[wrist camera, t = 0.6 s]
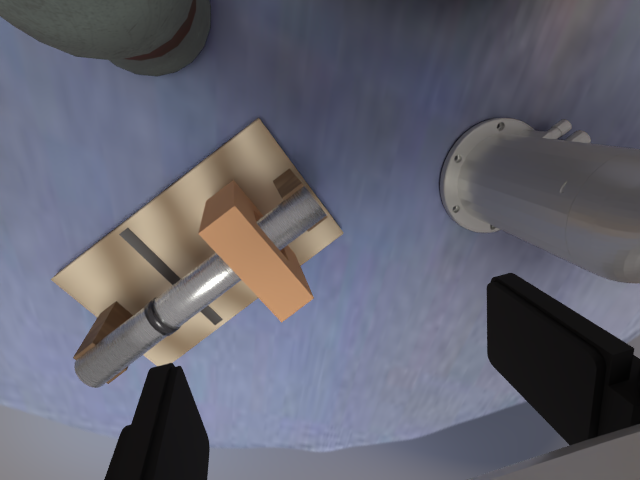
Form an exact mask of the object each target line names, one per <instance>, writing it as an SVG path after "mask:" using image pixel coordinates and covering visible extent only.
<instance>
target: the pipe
mask: <svg viewBox="0 0 640 480" xmlns="http://www.w3.org/2000/svg"><path fill="white" fill-rule="evenodd" d="M325 216H327V215H326V214H325V212H324V211H323V209H322V208H321V207H320V205H319V204H318V203H317V201H316V200H315V199H314V197H313V196H312V195H311V193H310V192H309V191H308V190H307V188H306V187H305V186H303V187H302V188H301V189H299V190H298V191H297V192H296V193H294V194H293V195H292V196H290V197H289V198H288V199H286V200H285V201H283V202H281V203H280V204H279V205H277V206H276V207H275V208H273V209H272V210H271V211H270V212H268V213H267V214H266V215H264V216H263V217H262V218H260V219H259V220H258V221H256V223H257V224H258V226H259V227H260V228H261V229H262V230H263V231H264V233H265V234H266V235H267V236H268V237H269V239H270V240H271V241H272V242H273V243H274V244H275V246H276V247H277V248H278V249H279V250H282V249H283V248H284V247H286V246H287V245H288V244H290V243H291V242H292V241H294V240H295V239H296V238H298V237H299V236H300V235H301V234H303V233H304V232H305V231H307V230H308V229H309V228H311V227H312V226H313V225H315V224H316V223H317V222H319V221H320V220H321V219H323V218H324V217H325ZM240 281H241V279H240V278H239V276H238V275H237V274H236V273H235V272H234V271H233V270H232V269H231V268H230V267H229V266H228V265H227V264H226V263H225V262H224V261H223V259H222V258H221V257H220V256H219V255H218V254H217V253H215V254H213V255H212V256H211V257H209V258H208V259H207V260H205V261H204V262H203V263H201V264H200V265H199V266H198V267H196V268H195V269H194V270H192V271H191V272H190V273H188V274H187V275H186V276H184V277H183V278H182V279H180V280H179V281H178V282H177V283H175V284H174V285H173V286H171V287H170V288H169V289H167V290H166V291H165V292H163V293H162V294H161V295H160V296H158V297H156V298H154V299H152V300H151V301H150V302H148V303H147V304H146V305H145V306H144V308H143V309H141V310H140V311H139V312H137V313H136V314H135V315H133V316H132V317H131V318H129V319H128V320H127V321H125V322H124V323H123V324H122V325H120V326H119V327H118V328H116V329H115V330H114V331H112V332H111V333H110V334H108V335H107V336H106V337H105V338H103V339H102V340H101V341H99V342H98V343H97V344H96V345H95V346H94V347H93V348H91V349H90V350H89V351H87V352H86V353H85V354H83V355H82V356H81V357H79V358H78V359H77V360H76V361H75V371H76V374H77V376H78V377H79V379H80V380H81V381H82V382H83V383H85V384H86V385H88V386H90V387H95V388H97V387H101V386H103V385H104V384H105V383H106V382H108V381H109V380H110V379H112V378H113V377H114V376H116V375H117V374H118V373H120V372H121V371H122V370H124V369H125V368H126V367H128V366H129V365H130V364H131V363H133V362H134V361H135V360H137V359H138V358H139V357H141V356H142V355H143V354H145V353H146V352H147V351H149V350H150V349H151V348H153V347H154V346H155V345H157V344H158V343H159V342H160V341H162V340H163V339H164V338H166V337H167V336H170V335H172V334H173V333H174V332H176V331H177V330H178V329H180V327H181V326H182V325H183V324H184V323H186V322H187V321H188V320H189V319H191V318H192V317H193V316H195V315H196V314H197V313H199V312H200V311H201V310H203V309H204V308H205V307H207V306H208V305H209V304H211V303H212V302H213V301H215V300H216V299H217V298H218V297H220V296H221V295H222V294H224V293H225V292H226V291H228V290H229V289H230V288H232V287H233V286H234V285H236V284H237V283H238V282H240Z"/></svg>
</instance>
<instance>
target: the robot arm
mask: <svg viewBox="0 0 640 480" xmlns="http://www.w3.org/2000/svg"><path fill="white" fill-rule="evenodd" d="M571 128H572V125H571V124H570V122H569V121H568V120H565V119H562V120H561V121H559V122H558V123H557V124H555V125H554V126H553V127H552V128H551V129H550V130H548V131H547V132H545V131H535V130H534V129H533V128H532V127H531V126H529V125H528V124H526V123H524V122H523V121H519V120H516V119H511V118H493V119H490V120H486V121H483V122H481V123H479V124H477V125H475V126H473V127H472V128H470V129H469V130H468V131H467V132H465V133H464V134H463V135H462V136H461V137H460V138H459V139H458V140H457V141H456V143H455V144H454V146H453V147H452V149H451V150H450V151H449V153H448V156H447V158H446V160H445V162H444V165H443V169H442V172H441V179H440V194H441V199H442V203H443V206H444V208H445V210H446V212H447V213H448V215H449V216H450V217H451V218H452V220H453V221H455V222H456V223H457V224H459V225H460V226H462V227H464V228H466V229H468V230H471V231H474V232H479V233H491V232H496V231H499V230H503V231H505V232H507V233H509V234H511V235H513V236H515V237H517V238H520V239H522V240H524V241H526V242H528V243H530V244H532V245H534V246H536V247H539V248H541V249H543V250H545V251H547V252H549V253H551V254H553V255H555V256H558V257H560V258H562V259H564V260H566V261H568V262H570V263H572V264H574V265H577V266H579V267H581V268H583V269H585V270H587V271H589V272H592V273H594V274H596V275H598V276H601V277H603V278H606V279H609V280H613V281H617V282H623V283H640V149H634V148H625V147H616V146H608V145H599V144H591V143H590V142H591V139H590V137H589V135H588V134H587V133H585V132H584V131H581V130H578V131H576V132H574V133H573V134H572V135H570V136H569V137H568V138H566V139H565V140H556V139H558V138H559V137H562V136H563V135H564V134H566V133H567V132H568V131H570V130H571ZM454 158H455V159H454ZM633 352H634V348H633V347H631V346H629V345H628V344H626V343H625V342H623V341H622V340H620V339H618V338H617V337H615V336H613V335H612V334H610V333H609V332H607V331H605V330H604V329H602V328H601V327H599V326H597V325H596V324H594V323H593V322H591V321H589V320H588V319H586V318H584V317H583V316H581V315H580V314H578V313H576V312H575V311H573V310H572V309H570V308H568V307H567V306H565V305H563V304H562V303H560V302H559V301H557V300H555V299H554V298H552V297H551V296H549V295H547V294H546V293H544V292H543V291H541V290H539V289H538V288H536V287H534V286H533V285H531V284H530V283H528V282H526V281H525V280H523V279H522V278H520V277H518V276H517V275H515V274H513V273H508V274H504V275H500V276H497V277H493V278H492V280H491V283H489V284H488V285H487V353H488V358H489V360H490V362H491V364H492V365H493V367H494V368H495V369H496V370H497V371H498V372H499V373H500V374H501V375H502V376H503V377H504V378H505V379H506V380H507V381H508V382H509V383H510V384H511V385H512V386H513V387H514V388H515V389H516V390H517V391H518V392H519V393H520V394H521V395H522V396H523V397H524V398H525V400H526V401H527V402H528V403H529V404H530V405H531V406H532V407H533V408H534V409H535V410H536V411H537V412H538V413H539V414H540V415H541V416H542V417H543V418H544V419H545V420H546V421H547V422H548V423H549V424H550V425H551V426H552V427H553V428H554V429H555V430H556V431H557V433H558V434H560V436H561V437H563V439H564V440H565V441H566V442H567V443H568V444H569V445H570V446H567V447H564V448H561V449H558V450H555V451H552V452H549V453H546V454H543V455H540V456H537V457H534V458H531V459H528V460H524V461H521V462H518V463H515V464H512V465H509V466H506V467H503V468H500V469H497V470H494V471H491V472H488V473H485V474H482V475H479V476H476V477H473V478H470V479H467V480H640V359H639V358H638V357H636V356H634V355H633ZM208 462H209V440H208V436H207V433H206V430H205V428H204V425H203V422H202V420H201V417H200V414H199V412H198V409H197V406H196V404H195V401H194V398H193V396H192V393H191V390H190V388H189V385H188V383H187V380H186V377H185V375H184V372H183V369H182V368H181V366H178V367H175V366H174V365H173V363H168V364H164V365H161V366H157V367H153V368H151V369H150V370H149V372H148V375H147V378H146V381H145V384H144V387H143V390H142V393H141V396H140V399H139V402H138V405H137V408H136V411H135V415H134V418H133V421H132V424H131V425H128V426H126V427H124V428H123V430H122V432H121V434H120V436H119V439H118V442H117V445H116V448H115V451H114V454H113V457H112V459H111V462H110V465H109V468H108V471H107V474H106V477H105V479H104V480H207V474H208Z"/></svg>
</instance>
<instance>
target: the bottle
mask: <svg viewBox="0 0 640 480" xmlns="http://www.w3.org/2000/svg"><path fill="white" fill-rule="evenodd" d="M0 16H1V17H2V18H4V19H5V20H6V21H8V22H9V23H10V24H12V25H13V26H15V27H16V28H18V29H20V30H21V31H23V32H25V33H26V34H28V35H30V36H31V37H33V38H34V39H36V40H38V41H39V42H42V43H44V44H47V45H49V46H51V47H54V48H56V49H59V50H61V51H64V52H66V53H69V54H71V55H74V56H77V57H86V58H96V59H105V60H109V61H110V62H112V63H113V64H114V65H116V66H118V67H120V68H123V69H125V70H127V71H130V72H132V73H135V74H139V75H149V76H161V75H165V74H170V73H174V72H177V71H179V70H180V69H182V68H183V67H185V66H187V65H188V64H190V63H191V62H193V60H194V59H195V58H196V57H197V55H198V54H199V53H200V51H201V50H202V49H203V47H204V45H205V42H206V39H207V36H208V33H209V30H210V21H211V5H210V2H209V0H0Z"/></svg>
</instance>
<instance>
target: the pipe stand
mask: <svg viewBox="0 0 640 480" xmlns="http://www.w3.org/2000/svg"><path fill="white" fill-rule="evenodd" d="M233 180H234V181H235V182H236V183H237V185H238V186H239V187H240V188H241V189H242V191H243V192H244V193H245V194H246V195H247V197H248V198H249V199H250V200H251V201H252V203H253V204H254V205H255V206H256V207H257V209H258V210H259V211H260V212H261V214H262V215H263V216H264V215H266V214H267V213H268V212H270V211H271V210H272V209H273V208H275V207H276V206H277V205H279V204H280V203H281V202H283V201H285V200H286V199H288V198H289V197H290V196H292V195H293V194H294V193H296V192H297V191H298V190H299V189H301V188H302V187H303V186H305V187H306V188H307V190H308V191H309V192H310V193H311V195H312V196H313V197H314V199H315V200H316V201H317V203H318V204H319V205H320V207H321V208H322V209H323V211H324V212H325V214H326V215H327V216H325V217H324V218H323V219H321V220H320V221H319V222H317V223H316V224H315V225H313V226H312V227H311V228H309V229H308V230H307V231H305V232H304V233H303V234H301V235H300V236H299V237H298V238H296V239H295V240H294V241H292V242H291V243H290V244H288V246H289V247H290V248H291V250H292V251H293V252H294V253H295V255H296V257H297V260H298V262H299V264H300V266H301V265H302V264H304V263H305V262H306V261H308V260H309V259H310V258H312V257H313V256H314V255H316V254H317V253H318V252H320V251H321V250H322V249H324V248H325V247H326V246H327V245H329V244H330V243H331V242H333V241H334V240H335V239H337V238H338V237H339V236H341V235H342V234H343V231H342V230H341V229H340V227H339V226H338V225H337V223H336V222H335V221H334V219H333V218H332V217H331V215H330V214H329V212H328V211H327V210H326V208H325V207H324V206H323V204H322V203H321V202H320V200H319V199H318V198H317V196H316V195H315V194H314V192H313V191H312V189H311V188H310V187H309V185H308V184H307V183H306V181H305V180H304V179H303V177H302V176H301V175H300V173H299V172H298V170H297V169H296V168H295V166H294V165H293V164H292V162H291V161H290V160H289V158H288V157H287V156H286V154H285V153H284V151H283V150H282V149H281V147H280V146H279V145H278V143H277V142H276V141H275V139H274V138H273V137H272V135H271V134H270V132H269V131H268V130H267V128H266V127H265V126H264V124H263V123H262V122H261V120H260V119H259V118H257V119H256V120H255V121H253V122H252V123H251V124H249V125H248V126H247V127H246V128H244V129H243V130H242V131H240V132H239V133H238V134H236V135H235V136H234V137H233V138H231V139H230V140H229V141H227V142H226V143H225V144H224V145H222V146H221V147H220V148H218V149H217V150H216V151H215V152H213V153H212V154H211V155H209V156H208V157H207V158H205V159H204V160H203V161H202V162H200V163H199V164H198V165H196V166H195V167H194V168H193V169H191V170H190V171H189V172H187V173H186V174H185V175H184V176H182V177H181V178H180V179H178V180H177V181H176V182H174V183H173V184H172V185H171V186H169V187H168V188H167V189H165V190H164V191H163V192H162V193H160V194H159V195H158V196H156V197H155V198H154V199H153V200H151V201H150V202H149V203H147V204H146V205H145V206H143V207H142V208H141V209H140V210H138V211H137V212H136V213H134V214H133V215H132V216H131V217H129V218H128V219H127V220H125V221H124V222H123V223H122V224H120V225H119V226H118V227H116V228H115V229H114V230H112V231H111V232H110V233H109V234H107V235H106V236H105V237H103V238H102V239H101V240H100V241H98V242H97V243H96V244H94V245H93V246H92V247H91V248H89V249H88V250H87V251H85V252H84V253H83V254H81V255H80V256H79V257H78V258H76V259H75V260H74V261H72V262H71V263H70V264H69V265H67V266H66V267H65V268H63V269H62V270H61V271H60V272H58V273H57V274H56V275H55V276H54V277H53V278H52V279H51V280H52V281H53V282H54V283H56V284H57V285H58V286H59V287H61V288H62V289H63V290H64V291H66V292H67V293H68V294H69V295H70V296H72V297H73V298H74V299H75V300H77V301H78V302H79V303H80V304H81V305H83V306H84V307H85V308H86V309H88V310H89V311H90V312H91V313H93V314H94V315H95V316H96V317H97V319H96V321H95V323H94V324H93V326H92V328H91V329H90V331H89V333H88V334H87V336H86V337H85V339H84V341H83V342H82V344H81V346H80V347H79V349H78V350H77V352H76V354H75V355H74V357H73V358H74V359H75V360H77V359H78V358H79V357H81V356H82V355H83V354H85V353H86V352H87V351H89V350H90V349H91V348H93V347H94V346H95V345H96V344H97V343H98V342H99V341H101V340H102V339H103V338H105V337H106V336H107V335H108V334H110V333H111V332H112V331H114V330H115V329H116V328H118V327H119V326H120V325H122V324H123V323H124V322H125V321H127V320H128V319H129V318H131V317H132V316H133V315H135V314H136V313H137V312H139V311H140V310H141V309H143V308H144V306H145V305H146V304H147V303H148V302H150V301H151V300H152V299H154V298H156V297H158V296H160V295H161V294H162V293H163V292H165V291H166V290H167V289H169V288H170V287H171V286H173V285H174V284H175V283H177V282H178V281H179V280H180V279H182V278H183V277H184V276H186V275H187V274H188V273H190V272H191V271H192V270H194V269H195V268H196V267H198V266H199V265H200V264H201V263H203V262H204V261H205V260H207V259H208V258H209V257H211V256H212V255H213V254H215V253H216V252H215V251H214V250H213V249H212V248H211V247H210V246H209V245H208V244H207V242H206V241H205V240H204V239H203V238H202V237H201V236H200V235H199V234H198V233H199V228H200V224H201V220H202V216H203V212H204V208H205V203H206V201H207V200H208V199H209V198H210V197H212V196H213V195H214V194H216V193H217V192H218V191H220V190H221V189H222V188H223V187H225V186H226V185H227V184H229V183H230V182H231V181H233ZM257 298H258V297H257V296H256V295H255V293H254V292H253V291H252V290H251V289H250V288H249V287H248V286H247V285H246V284H245V283H244V282H243V281H242V280H241V281H240V282H238V283H237V284H236V285H234V286H233V287H232V288H230V289H229V290H228V291H226V292H225V293H224V294H222V295H221V296H220V297H218V298H217V299H216V300H215V301H213V302H212V303H211V304H209V305H208V306H207V307H205V308H204V309H203V310H201V311H200V312H199V313H197V314H196V315H195V316H193V317H192V318H191V319H189V320H188V321H187V322H186V323H184V324H183V325H182V326H181V327H180V329H178V330H177V331H176V332H174V333H173V334H172V335H170V336H167V337H166V338H164V339H163V340H162V341H160V342H159V343H158V344H157V345H155V346H154V347H153V348H151V349H150V350H149V351H147V352H146V353H145V354H143V355H144V356H145V357H147V358H148V359H149V360H150V361H151V362H153V363H154V364H155V365H156V366H161V365H164V364H168V363H173V362H174V361H175V360H177V359H178V358H179V357H181V356H182V355H183V354H185V353H186V352H187V351H189V350H190V349H191V348H193V347H194V346H195V345H197V344H198V343H199V342H200V341H202V340H203V339H204V338H206V337H207V336H208V335H210V334H211V333H212V332H214V331H215V330H216V329H218V328H219V327H220V326H222V325H223V324H224V323H226V322H227V321H228V320H230V319H231V318H232V317H234V316H235V315H236V314H238V313H239V312H240V311H241V310H243V309H244V308H245V307H247V306H248V305H249V304H251V303H252V302H253V301H255V300H256V299H257ZM127 368H128V367H126V368H125V369H124V370H122V371H121V372H120V373H118V374H117V375H116V376H114V377H113V378H112V379H110V380H109V381H108V382H106V383H108V384H109V383H110V382H111V381H113V380H114V379H115V378H117V377H118V376H119V375H121V374H122V373H123V372H125V371H126V370H127Z"/></svg>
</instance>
